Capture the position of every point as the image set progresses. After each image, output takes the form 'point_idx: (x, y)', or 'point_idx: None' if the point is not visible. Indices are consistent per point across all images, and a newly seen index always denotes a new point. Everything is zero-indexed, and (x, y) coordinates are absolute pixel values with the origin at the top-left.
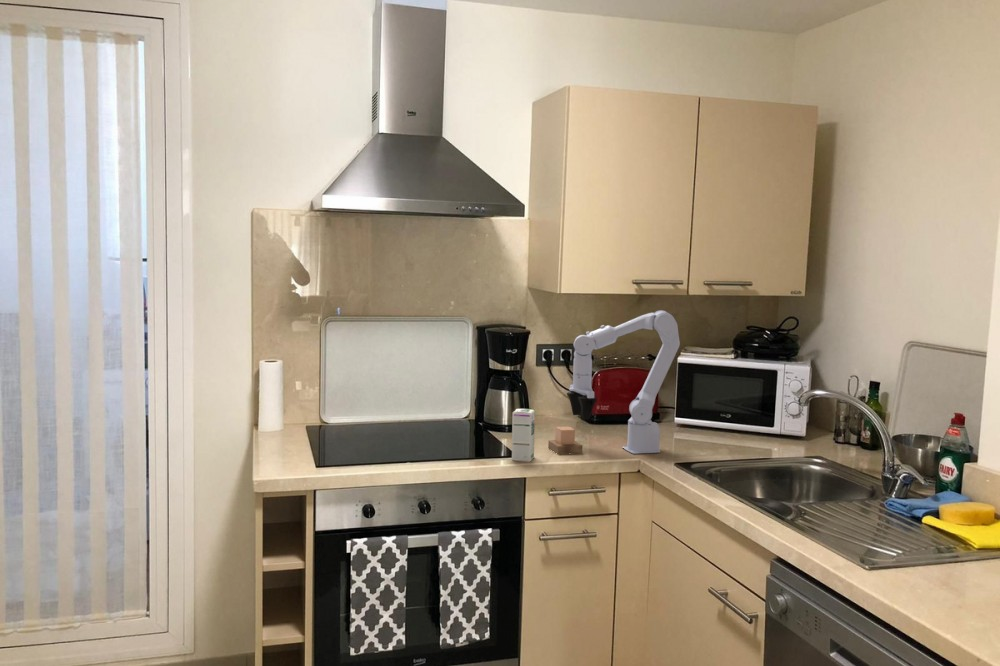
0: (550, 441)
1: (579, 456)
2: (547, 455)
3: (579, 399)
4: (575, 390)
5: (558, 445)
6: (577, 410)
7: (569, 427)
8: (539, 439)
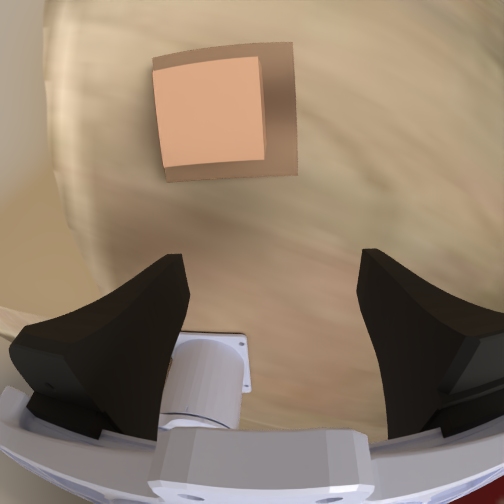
0: (263, 43)
1: (132, 147)
2: (160, 20)
3: (47, 334)
4: (148, 471)
5: (170, 63)
6: (368, 296)
7: (231, 149)
8: (452, 90)
